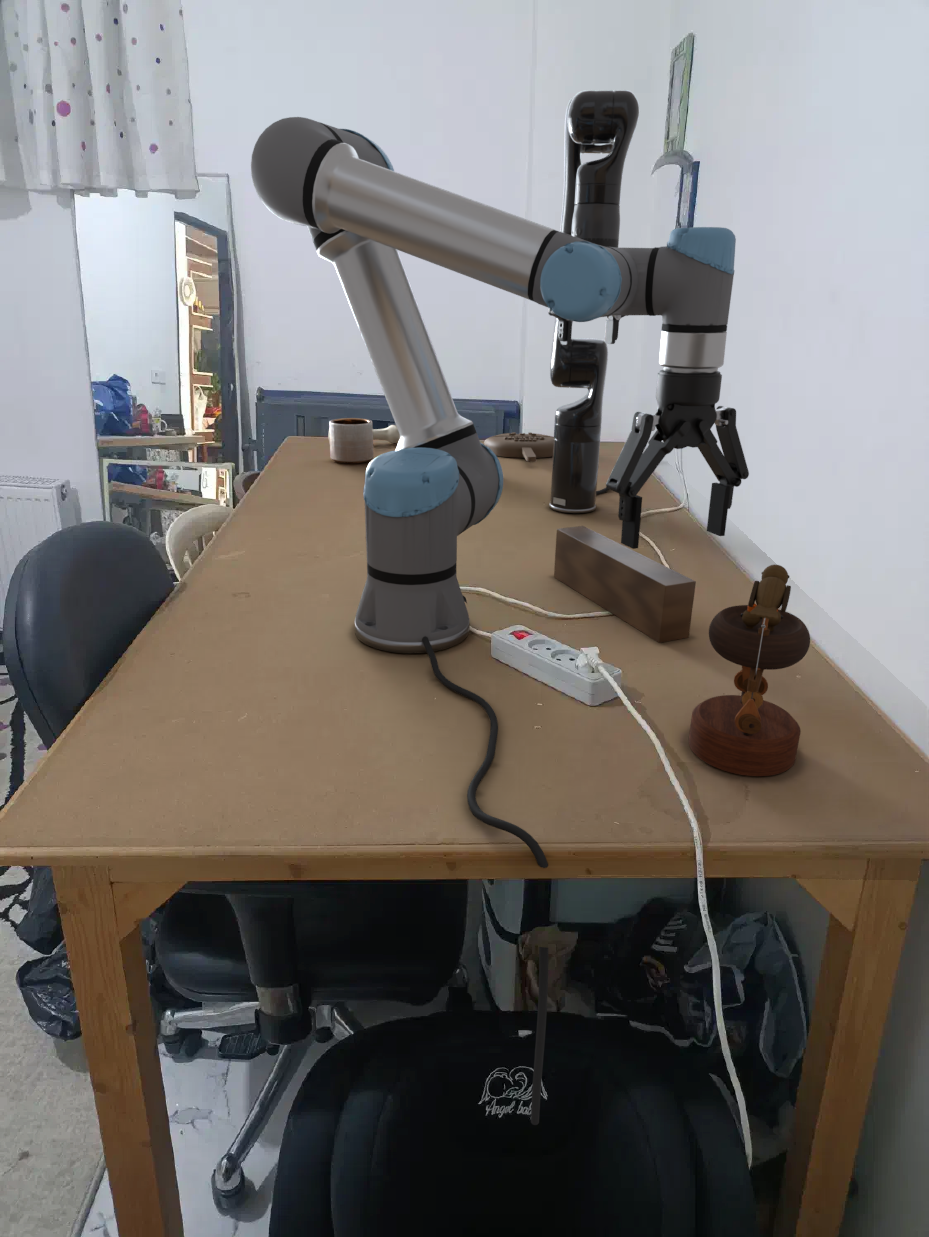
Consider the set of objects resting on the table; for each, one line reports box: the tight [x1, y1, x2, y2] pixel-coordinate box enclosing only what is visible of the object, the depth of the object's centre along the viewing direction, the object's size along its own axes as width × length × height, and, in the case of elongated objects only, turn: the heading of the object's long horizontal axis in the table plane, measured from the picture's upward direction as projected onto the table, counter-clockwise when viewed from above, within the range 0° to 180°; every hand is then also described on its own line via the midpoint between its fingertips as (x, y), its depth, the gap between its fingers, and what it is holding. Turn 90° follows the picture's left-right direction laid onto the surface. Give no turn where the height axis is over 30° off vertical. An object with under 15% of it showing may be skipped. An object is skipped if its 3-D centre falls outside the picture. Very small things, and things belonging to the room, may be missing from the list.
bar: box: [553, 525, 697, 644], centre depth 122 cm, size 28×5×8 cm, turn 24°
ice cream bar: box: [483, 431, 554, 463], centre depth 221 cm, size 21×28×4 cm
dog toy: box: [327, 424, 400, 444], centre depth 234 cm, size 20×6×5 cm, turn 99°
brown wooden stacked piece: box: [688, 564, 811, 777], centre depth 83 cm, size 15×11×20 cm
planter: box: [328, 417, 375, 464], centre depth 212 cm, size 11×11×10 cm
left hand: (673, 539), depth 109 cm, fingers open, 13 cm apart
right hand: (587, 344), depth 140 cm, fingers open, 8 cm apart
